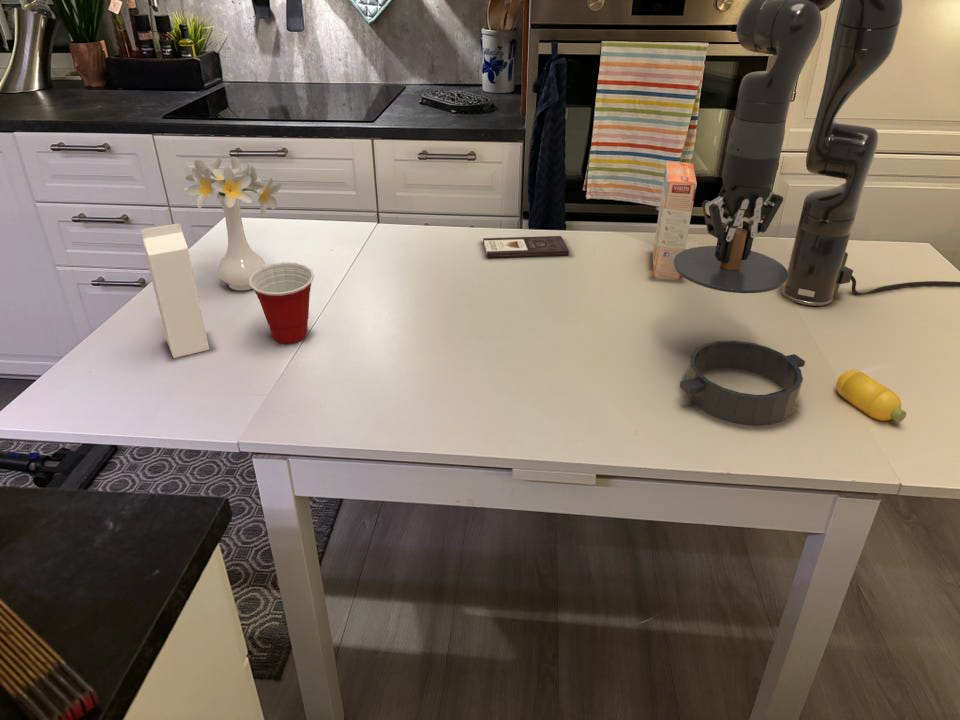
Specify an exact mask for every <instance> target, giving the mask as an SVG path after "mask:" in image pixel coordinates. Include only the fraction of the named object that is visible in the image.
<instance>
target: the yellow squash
mask: <svg viewBox="0 0 960 720" xmlns="http://www.w3.org/2000/svg"><path fill="white" fill-rule="evenodd" d="M836 390H837V392H838V394H839V396H841V397H842V399H844V400H845V401H847V402H849V404H851V405H853V406H854V407H856V408H857V409H858V410H860V411H861V412H863V413H864V414H866V415H867V416H869V417H870V418H873V420H877V421H882V422H883V421H884V422H886V421H890V420H894V421H895V422H897V423H901V422H902V421H903V420H905V419H906V417H907V412H906V411H905V410H904V409H902V401H901V399H900V396H899V395H898V394H897V393H896V392H894V391H893V390H892V389H891V388H889V387H887V386H886V385H884V384H882V383H881V382H879V381H877V380H876V379H874V377H873V378H872V377H871V376H869V375H868V374H867V373H865V372H863V371H861V370H857V369H849V370H846V371H844V372H843V373H841V374H840V375H839V376H838V378H837V381H836Z"/></svg>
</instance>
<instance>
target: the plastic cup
mask: <svg viewBox="0 0 960 720" xmlns="http://www.w3.org/2000/svg"><path fill="white" fill-rule="evenodd" d="M314 278H315V274H314V272H313V269H311V268H310V267H309V266H307V265H305V264H302V263H298V262H288V261H287V262H285V261H283V262H275V263H271V264H268V265H267V264H266V266H264V267H262V268H259V269H258V270H256V271H255V272H254V273H252V275H251V276H250V278H249V283H250V286H251V288H252V289H251V290H253V291H254V293H255V295H256V297H257V299H258V301H259V303H260V306H261V308H262V312H263V314H264V317H265V320H266V322H267V325H268V326H269V330H270V333H271V335H272V338H273V339H274V341H275V342H277V343H279V344H283V345H284V344H285V345H291V344H296V343H299V342H302V341H303V340H304V339H305V338H306V336H307V333H308V323H309V322H308V321H309V314H310V297H311V287H312V283H313V281H314Z"/></svg>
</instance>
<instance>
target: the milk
mask: <svg viewBox="0 0 960 720" xmlns="http://www.w3.org/2000/svg"><path fill="white" fill-rule="evenodd" d="M140 232H141V237H142V246H143V250H144V254H145V259H146V263H147V266H148V270H149V274H150V278H151V282H152V286H153V290H154V294H155V298H156V302H157V307H158V311H159V315H160V319H161V323H162V327H163V331H164V334H165V340H166V343H167V345H168V348H169V351H170V353H171V355H172V358H174V359H176V358H180V357H184V356H188V355H194V354H198V353H200V352H206V351H209V350H210V346H209V341H208V337H207V332H206V326H205V321H204V317H203V312H202V307H201V304H200V299H199V294H198V290H197V284H196V279H195V276H194V270H193V266H192V261H191V256H190V251H189V247H188V245H187V241H186V239H185V235H184V233H183V229H182V225H181V223H173V224H167V225H160V226H155V227H148V228H143V229H141V231H140Z"/></svg>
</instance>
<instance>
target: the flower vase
mask: <svg viewBox="0 0 960 720" xmlns="http://www.w3.org/2000/svg"><path fill="white" fill-rule="evenodd" d="M246 162H247V166H244V167H243V168H242V169H241V163H240V161H239V159H238V158H237V157H236V156H231V157H230V164H231V168H230V167H229V166H225V167H224V168H223V170H222V169H219V168H220V166H221V165H222V158H220V157H218V158H215V159H214V160H213V161H211V163H210V164H209V166H208V164H207V163H206V162H205V161H204V160H203V159H200V158H197V159H195V160H194V167H193V168H192V169H191V173H190V174H187V175H186V176H185V180H186V181H188V182H195V184H192V185H190V186H189V187H188V188H186V196H189V197H195V196H196V197H197V200H196V206H197V208H198V209H202V208H203V206H204V204H205V202H206V200H207V198H208V197H209V198H212V197H213V196H214V194H215V192H217V194H216V198H217V199H218V200H219V203H220V205H221V207H222V211H223V215H224V218H225V219H224V220H225V223H226V225H225V226H226V233H227V248H226V252H225V255H224V256H223V257H222V258H221V260H220V261H219V263H218V267H217V274H218V277H220V279H221V281H223V282H225V283H226V284H227V285H228V287H229V288H230V289H231V290H233V291H234V290H235V291H238V292H239V291H242V292H243V291H249V290H253V289H252V288H251V286H250V283H249V278H250V276H251V275H252V273H254V272H255V271H256V270H258V269H259V268H262V267H264V266H267V264H266V262H265V260H264V258H263V257H262V256H261V255H260V254H258V253H257V252H255V251H254V250H253V249H252V247H251V246H250V245H249V242H248V239H247V237H246V234H245V229H244V225H243V224H244V223H243V219H242V214H241V213H242V211H241V202H243V203H245V204H252V202H253V198H252V196H251V195H250V193H248V192H253V193H255V194H257V195H258V198H257V203H258V204H259V208H260V216H261V217H262V218H264V217H265V216H266V214H267V208H268V207H269V208H270V209H271V210H275V209H276V208H278V202H277V199H276V198H275V197H274V196H273V195H275V194H276V193H278V192H279V191H280V190H281V188H282V186H283V185H282V182H277V183H275V184H273V177H270V178H269V179H268V180H267V181H266V183H265V185H264V183H262V179H261V177H260V176H259V174H258V173H257V172H256V167H255V166H254V165H251V164H250V162H249V160H248V159H246ZM267 206H268V207H267Z"/></svg>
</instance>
